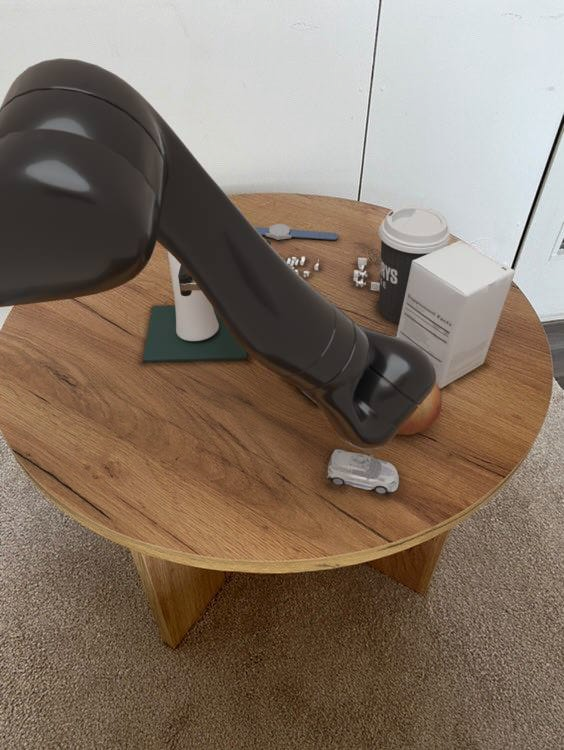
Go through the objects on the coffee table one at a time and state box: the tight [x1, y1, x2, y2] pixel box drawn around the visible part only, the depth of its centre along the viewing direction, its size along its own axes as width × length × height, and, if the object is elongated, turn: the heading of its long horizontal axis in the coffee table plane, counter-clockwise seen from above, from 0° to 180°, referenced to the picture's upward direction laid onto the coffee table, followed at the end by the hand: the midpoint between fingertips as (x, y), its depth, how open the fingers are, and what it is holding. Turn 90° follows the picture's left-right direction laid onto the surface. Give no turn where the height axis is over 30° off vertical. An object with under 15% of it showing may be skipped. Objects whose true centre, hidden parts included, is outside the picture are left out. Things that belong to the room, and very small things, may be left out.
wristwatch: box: [254, 223, 339, 241], centre depth 102 cm, size 4×20×1 cm, turn 83°
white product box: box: [395, 239, 516, 390], centre depth 74 cm, size 9×9×15 cm
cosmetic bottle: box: [166, 250, 219, 341], centre depth 76 cm, size 6×6×22 cm
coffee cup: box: [377, 205, 451, 325], centre depth 82 cm, size 10×10×15 cm
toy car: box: [326, 449, 400, 495], centre depth 64 cm, size 4×8×3 cm, turn 76°
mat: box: [142, 304, 248, 363], centre depth 83 cm, size 14×12×1 cm
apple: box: [396, 383, 443, 436], centre depth 68 cm, size 8×8×8 cm
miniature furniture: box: [286, 255, 380, 292], centre depth 93 cm, size 7×25×2 cm, turn 77°
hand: (187, 235), depth 72 cm, fingers closed
